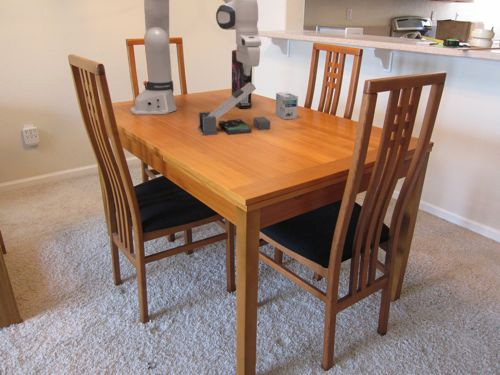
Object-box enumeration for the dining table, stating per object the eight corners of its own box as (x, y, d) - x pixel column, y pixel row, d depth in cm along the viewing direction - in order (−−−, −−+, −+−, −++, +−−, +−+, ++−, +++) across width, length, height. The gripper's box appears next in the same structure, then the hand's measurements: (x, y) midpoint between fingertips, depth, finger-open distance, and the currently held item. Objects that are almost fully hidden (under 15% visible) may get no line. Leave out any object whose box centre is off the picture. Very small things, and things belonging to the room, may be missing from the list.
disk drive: (218, 127, 183) (228, 136, 171) (218, 120, 182) (228, 129, 169) (240, 125, 187) (252, 133, 174) (240, 118, 185) (252, 127, 173)
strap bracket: (203, 135, 169) (202, 118, 167) (198, 128, 179) (197, 112, 176) (271, 130, 178) (271, 113, 175) (262, 123, 187) (263, 107, 184)
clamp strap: (208, 126, 171) (204, 121, 170) (205, 122, 176) (201, 117, 175) (256, 88, 171) (252, 83, 170) (251, 86, 176) (248, 80, 175)
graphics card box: (230, 102, 225) (230, 49, 214) (243, 101, 227) (243, 49, 216) (239, 109, 211) (239, 53, 199) (252, 108, 213) (253, 52, 201)
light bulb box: (297, 118, 195) (298, 95, 191) (284, 120, 193) (285, 96, 188) (287, 113, 204) (288, 91, 200) (274, 114, 202) (275, 92, 197)
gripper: (232, 37, 173) (233, 71, 179) (246, 41, 155) (247, 79, 161) (246, 37, 175) (247, 70, 181) (262, 41, 157) (262, 78, 163)
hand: (247, 75), depth 171 cm, fingers closed
